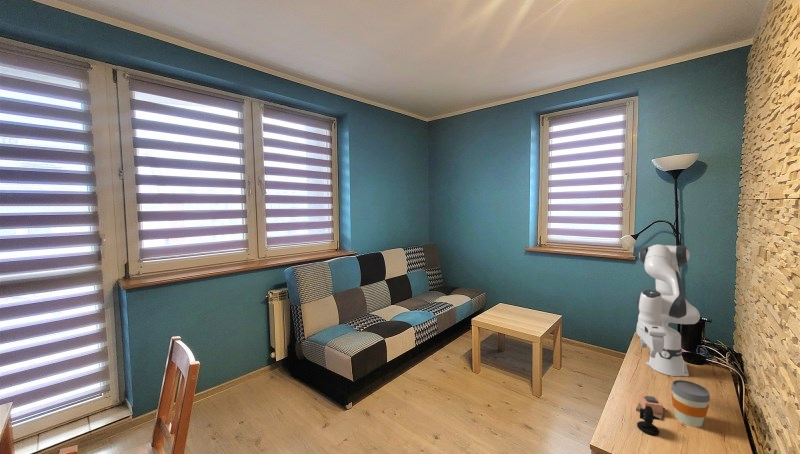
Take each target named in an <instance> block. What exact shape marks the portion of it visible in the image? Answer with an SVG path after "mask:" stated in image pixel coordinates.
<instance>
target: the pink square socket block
mask: <svg viewBox="0 0 800 454" xmlns="http://www.w3.org/2000/svg"><path fill="white" fill-rule="evenodd" d="M646 396H647V395H644V394H639V399H638V400H639V403H640V404H641V406H642V408H643V409H644V408H645V407H646V406H650V407H651V408H652V410H653V413H658V414H663V407H664V405H663V404H662V402H661V401H660V400H659V398H658V397H657V396H654V397H655V399H656V400H657V403H651V402H647V401H646ZM639 403H638V404H639ZM663 415H664V414H663Z"/></svg>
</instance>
